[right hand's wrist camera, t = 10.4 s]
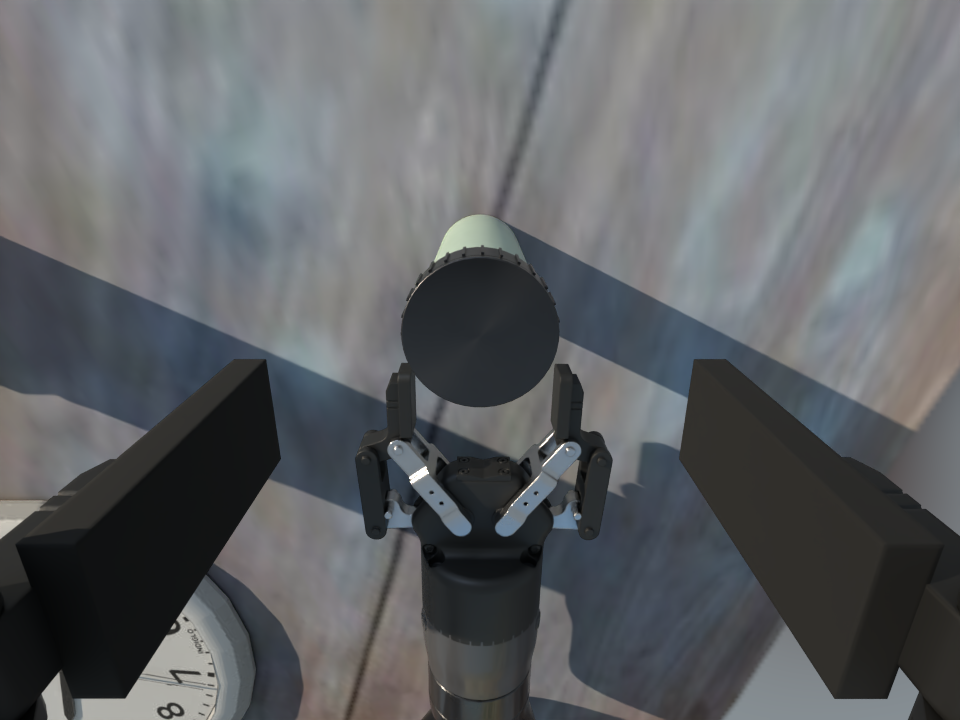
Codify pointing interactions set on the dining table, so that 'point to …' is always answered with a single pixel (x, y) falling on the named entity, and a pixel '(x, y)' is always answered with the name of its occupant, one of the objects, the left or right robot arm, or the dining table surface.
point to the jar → (480, 236)
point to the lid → (480, 327)
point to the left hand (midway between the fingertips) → (485, 368)
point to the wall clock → (169, 661)
